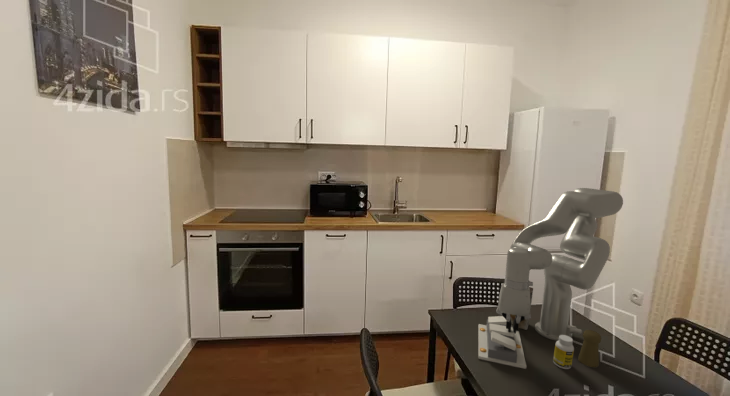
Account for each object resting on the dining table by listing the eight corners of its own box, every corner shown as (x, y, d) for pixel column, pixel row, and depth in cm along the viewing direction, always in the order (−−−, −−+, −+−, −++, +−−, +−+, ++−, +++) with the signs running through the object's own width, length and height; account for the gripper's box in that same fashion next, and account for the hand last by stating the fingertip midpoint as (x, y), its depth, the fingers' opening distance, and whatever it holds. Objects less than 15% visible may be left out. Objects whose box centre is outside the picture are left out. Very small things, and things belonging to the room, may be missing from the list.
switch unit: (518, 333, 130) (519, 323, 130) (526, 368, 110) (527, 356, 109) (478, 326, 135) (479, 316, 134) (478, 358, 115) (479, 346, 114)
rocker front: (513, 345, 116) (515, 340, 116) (514, 352, 112) (516, 347, 112) (490, 335, 118) (491, 330, 118) (490, 342, 114) (492, 337, 114)
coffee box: (503, 323, 138) (506, 287, 135) (505, 317, 143) (509, 281, 140) (527, 330, 133) (531, 293, 130) (529, 323, 138) (533, 287, 136)
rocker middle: (512, 332, 123) (512, 327, 122) (513, 338, 118) (513, 333, 118) (489, 328, 125) (489, 323, 125) (489, 334, 121) (489, 329, 121)
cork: (602, 368, 111) (607, 338, 109) (582, 365, 112) (586, 335, 110) (593, 357, 117) (598, 328, 115) (574, 354, 118) (579, 326, 116)
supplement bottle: (565, 371, 109) (568, 344, 107) (549, 361, 114) (552, 335, 112) (574, 366, 112) (578, 340, 110) (559, 357, 116) (562, 331, 115)
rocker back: (510, 320, 129) (509, 315, 129) (511, 326, 125) (510, 321, 125) (489, 321, 132) (488, 316, 132) (489, 327, 128) (488, 322, 127)
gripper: (538, 282, 118) (533, 329, 121) (492, 276, 123) (488, 322, 126) (542, 290, 111) (537, 341, 114) (493, 284, 116) (489, 332, 119)
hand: (511, 330), depth 120 cm, fingers closed
